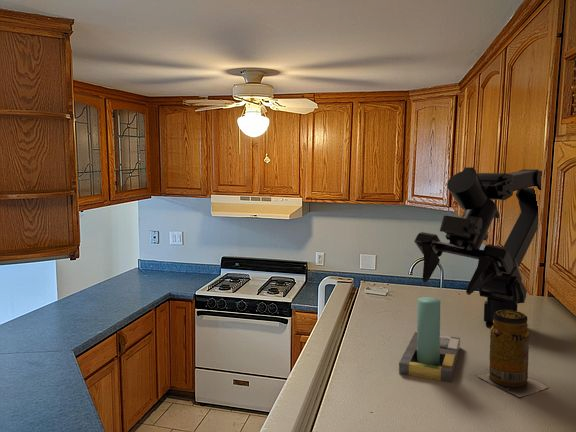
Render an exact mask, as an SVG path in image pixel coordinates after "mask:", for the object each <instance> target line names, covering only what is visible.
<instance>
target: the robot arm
mask: <svg viewBox="0 0 576 432" xmlns="http://www.w3.org/2000/svg"><path fill="white" fill-rule="evenodd" d="M542 172H543V171H542V170H539V169H537V168H535V169H534V168H533V169H532V168H531V169H530V168H529V169H520V170H518V171H517V170H516V171H513V172H508V173H507V172H477V171H476V169H475V167H474V166H473V167H471V166H470V167H467V166H466V167H463V170H462V171H459V172H457V173H455V174H454V175H453V176H451V178H449V179H448V181H447V183H446V187H447V190H448V191H449V193H450V194H451V196H452V197H453V199H454V200H455V202H456V203H457V205H458V207H459V208H461V209H463V210H464V211H463V213H462V215H461V217H459V216H452V215H451V216H450V215H443V217H442V220H441V224H440V228H439V232H441V233H442V232H444V233H445V239H446V240H447V241H449V242H443V241H441V240H440V238H439V236H438V235H437V234H435V233H429V232H424V231H423V232H422V231H421V232H419V233H418V234H417V235H416V236H415V239H414V243H415V244H416V246H417V248H418V249H419V250H420V252H421V253H422V255H423V269H422V270H423V271H422V282H423V283H424V284H426V283H427V282H428V281H429V280H430V279H431V277H432V275H433V273H434V271H435V270H436V269H437V267H438V265H439V263H440V261H441V260H440V258H439V257H441V256H442V255H443V253H447V254H451V255H456V256H462V257H467V258H471V259H475V260H478V261H477V267H476V269H475V270H474V272H473V274H472V277H471V279H470V281H469V283H468V285H467V287H466V290H465V294H466V295H468V296H470V295H471V294H472V293H474V292H475V291H476V290H477V289H478V292H479V297H485V298H486V300H485V301H484V304H483V321H484V322H485V327H488V328H491V327H492V326H493V325H494V324H493V320H494V316H493V315H494V313H495V312H496V311H498V310H513V311H518V304H525V301H526V298H527V293H528V292H527V288H526V287H525V285H524V283H523V281H522V280H523V278H522V277H523V276H522V273H521V270H520V266H521V264H522V262H523V259H524V258H525V256H526V253H527V251H528V249H529V247H530V246H531V243H532V242H533V239H534V237H535V235H536V233H537V231H538V229H537V225H538V206H537V201H536V194H535V190H534V188H535V187H536V188H538V189H539V190H541V176H542ZM515 191H516V193H515V196H516V199H517V201H518V205H519V209H520V214H519V215H518V217H517V219H516V221H515V223H514V224H513V226H512V229H511V230H510V233H509V234H508V237H507V239H506V240H505V242H504V244H503V246H500V245H494V244H486V245H485V246H484V248H483V249H481V247H482V245H483V242H484V241H487V240H488V238H489V235H488V234H487V233H488V231H489V229H490V226H491V224H492V222H493V219H499V218H500V211H499V210H498V206H497V205H496V203H495V202H494V201H506V200H508V199H509V198H511V197H512V196H513V195H514V192H515Z"/></svg>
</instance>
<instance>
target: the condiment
mask: <svg viewBox="0 0 576 432" xmlns="http://www.w3.org/2000/svg"><path fill="white" fill-rule="evenodd" d="M493 316H494V320H493V324H494V325H493V326H492V327H490V334H489V337H490V338H489V340H490V343H489V365H488V366H489V367H488V368H489V372H487V373H482V374H480V375H479V374H478V375H477V377H478V378H479V379H482V380H483V381H485V382H487V383H488V384H490V385H493V386H496V387H497V388H500V389H501V390H504V391H506V392H507V393H508V394H509V393H510V394H513V395H514V396H516V397H518V398H520V397H526V396H529V395H532V394H535V393H538V392H540V391H543V390H545V389H547V388H549V386H547V385H545V384H543V383H540V382H539V381H536V380H534V379H532V378H529V377H528V375H529V372H528V371H529V352H530V351H529V349H530V333H529V330H528V326H529V325H528V316H527V315H526V314H525V313H523V312H521V311H518V310H517V311H513V310H498V311H496V312H495V313H494V315H493Z"/></svg>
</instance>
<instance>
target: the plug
mask: <svg viewBox="0 0 576 432" xmlns="http://www.w3.org/2000/svg"><path fill="white" fill-rule="evenodd" d="M416 302H417V303H416V304H417V307H416V308H417V309H416V310H417V311H416V312H417V317H416V318H417V319H416V324H417V326H416V329H417V330H416V332H417V360H416V363H422V364H428V365H434V366H441V364H440V348H441V347H440V335H441V299H438V298H436V297H431V296H430V297H429V296H426V297H425V296H424V297H419V298H418V299H417V301H416Z"/></svg>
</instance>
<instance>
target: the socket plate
mask: <svg viewBox="0 0 576 432" xmlns="http://www.w3.org/2000/svg"><path fill="white" fill-rule="evenodd" d="M460 349H461V337H455V336H450V335H449V336H447V335H441V334H440V366H434V365H428V364H422V363H417V331H415V332H414V333H413V335H412V337H411V339H410V341H409V343H408V345H407V347H406V348H405V351H404V353H403V355H402V357H401V359H400V361H399V362H398V374H402V375H408V376H413V377H419V378H425V379H429V380H430V379H431V380H436V381H441V382H447V383H452V380H453V376H454V372H455V369H456V365H457V361H458V356H459V353H460Z"/></svg>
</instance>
